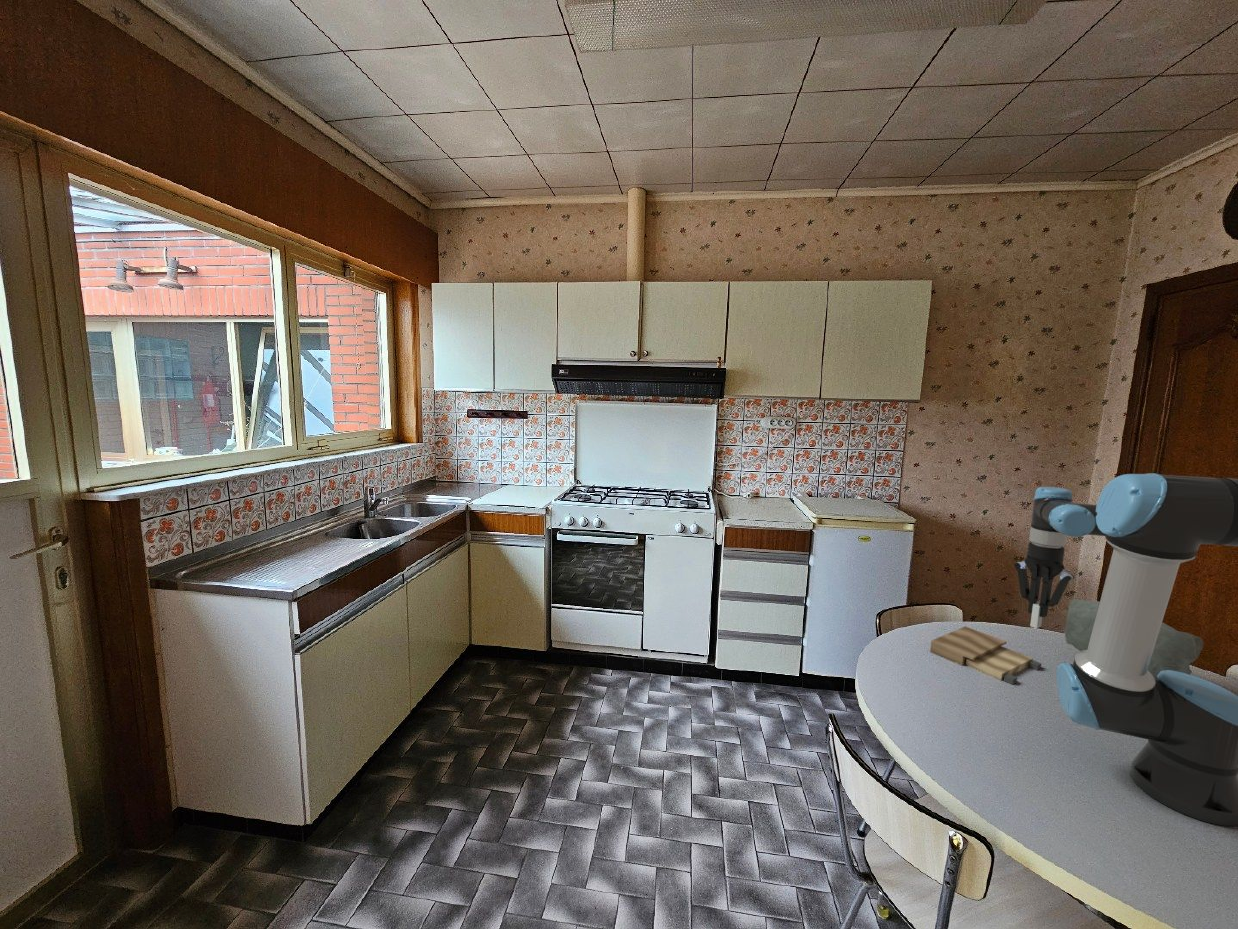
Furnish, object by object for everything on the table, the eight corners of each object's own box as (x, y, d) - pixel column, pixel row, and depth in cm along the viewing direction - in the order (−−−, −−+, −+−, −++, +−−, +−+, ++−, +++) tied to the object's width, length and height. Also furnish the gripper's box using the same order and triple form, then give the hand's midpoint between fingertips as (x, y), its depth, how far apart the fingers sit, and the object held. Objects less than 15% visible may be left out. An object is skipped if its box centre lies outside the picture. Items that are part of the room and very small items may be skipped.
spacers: (1012, 684, 136) (1013, 679, 136) (1003, 681, 138) (1004, 676, 138) (1040, 668, 145) (1041, 663, 145) (1032, 665, 146) (1033, 660, 146)
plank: (996, 689, 139) (1004, 676, 137) (963, 665, 147) (970, 652, 145) (1027, 673, 148) (1035, 660, 146) (994, 651, 155) (1001, 638, 153)
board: (971, 669, 144) (973, 657, 143) (930, 652, 153) (931, 640, 153) (1005, 652, 153) (1006, 641, 153) (964, 637, 163) (965, 626, 163)
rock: (1194, 690, 134) (1206, 620, 132) (1194, 699, 130) (1207, 627, 128) (1063, 652, 154) (1072, 590, 151) (1060, 659, 150) (1068, 595, 147)
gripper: (1083, 548, 131) (1071, 633, 135) (1024, 536, 142) (1015, 614, 146) (1070, 553, 128) (1058, 639, 131) (1011, 539, 139) (1001, 619, 142)
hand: (1035, 626), depth 138 cm, fingers closed
